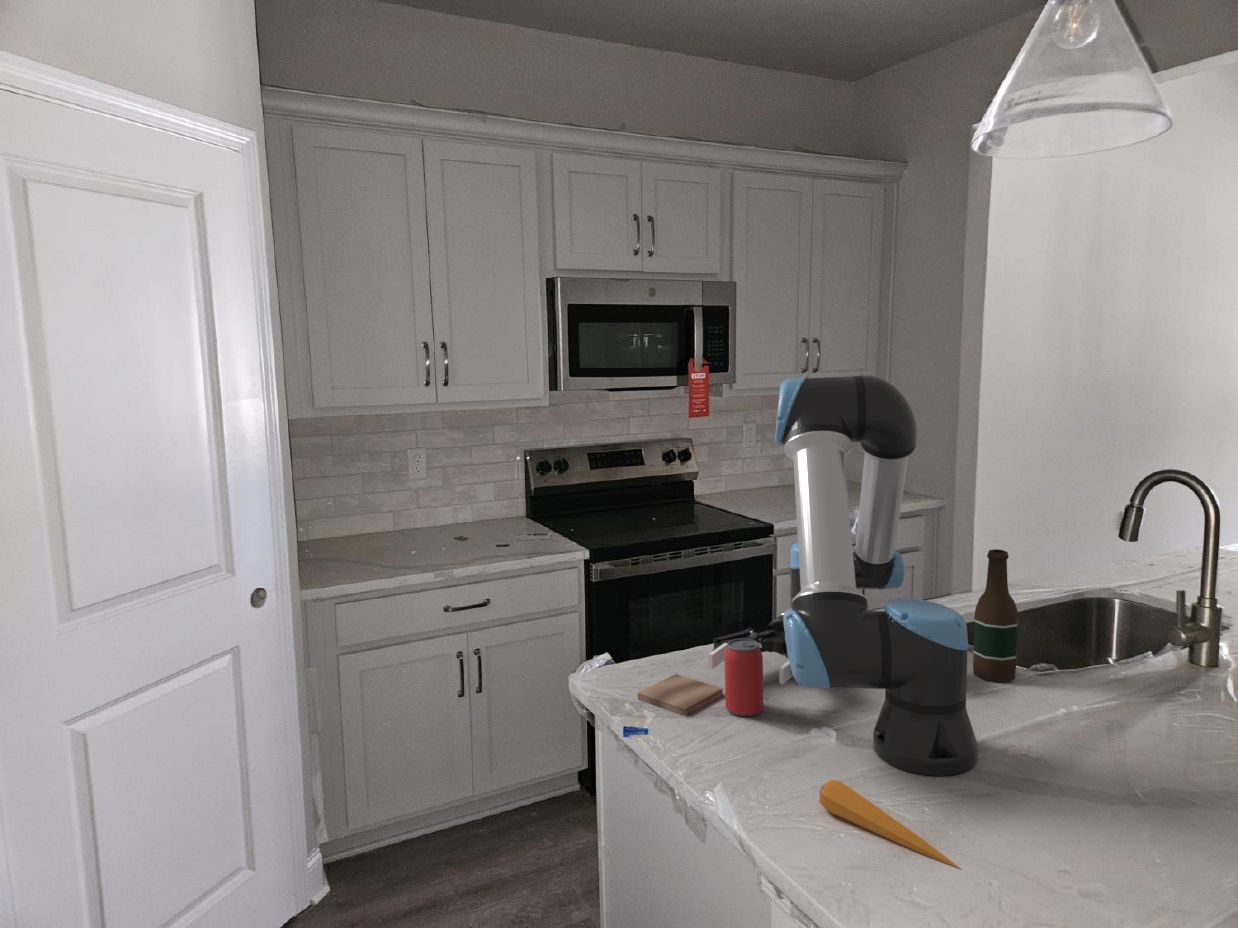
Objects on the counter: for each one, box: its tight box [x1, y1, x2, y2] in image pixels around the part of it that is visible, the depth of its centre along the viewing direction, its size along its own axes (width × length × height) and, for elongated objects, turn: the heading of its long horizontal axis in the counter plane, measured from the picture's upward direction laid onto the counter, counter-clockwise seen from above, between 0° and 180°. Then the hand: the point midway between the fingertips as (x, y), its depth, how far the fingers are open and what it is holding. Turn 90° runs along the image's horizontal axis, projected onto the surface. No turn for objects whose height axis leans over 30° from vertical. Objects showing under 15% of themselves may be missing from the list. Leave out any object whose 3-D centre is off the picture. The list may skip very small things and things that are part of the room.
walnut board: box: [637, 673, 724, 716], centre depth 150 cm, size 11×11×1 cm
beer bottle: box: [972, 548, 1019, 684], centre depth 152 cm, size 8×8×24 cm
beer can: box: [724, 639, 764, 717], centre depth 143 cm, size 7×7×12 cm
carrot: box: [818, 779, 963, 871], centre depth 106 cm, size 20×4×4 cm, turn 41°
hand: (745, 668), depth 144 cm, fingers open, 13 cm apart
